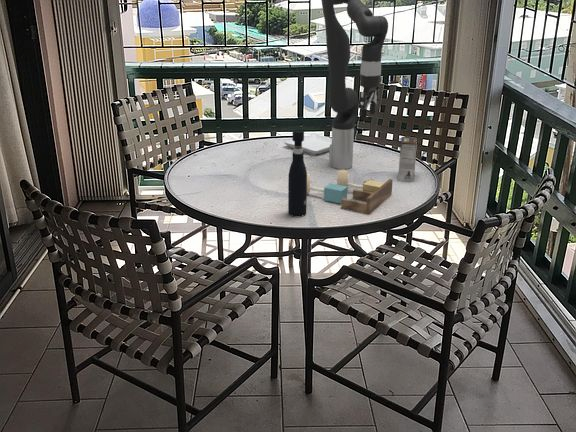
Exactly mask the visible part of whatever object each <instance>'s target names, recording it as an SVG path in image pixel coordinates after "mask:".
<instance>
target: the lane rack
mask: <svg viewBox="0 0 576 432" xmlns="http://www.w3.org/2000/svg"><path fill="white" fill-rule="evenodd" d="M366 181H367V180H365V181H363V184H364V183H365V182H366ZM383 183H384V184H383V185H382V186H381V187H380V188H378V189H377V190H376V191H375V192H374V193H372V192H366V191H363V190H362V189H361V190H360V189H357V188H355V189H353V190H352V199H353V200H352V199H349V198H347V199H344V198H342V199H341V204H340V209H342V208H344V209H343V210H347V209H348V210H347V211H351V210H352V212H356V213H357V212H358V213H361V212H362V214H367V215H371V214H372V213H373V212H374V211H375V210H376V209H377V208H378V207H379V206H380V205H382V204H383V203H384V202H385V201H386V200H387V199H388V198H390V196H392V193H393V179H392V178H389V179H388V180H387V181H385V182H383Z"/></svg>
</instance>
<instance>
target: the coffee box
mask: <svg viewBox="0 0 576 432" xmlns="http://www.w3.org/2000/svg"><path fill="white" fill-rule="evenodd" d="M417 146H418V137H415V136H414V137H413V136H401V141H400V148H399V162H398V173H397V174H398V175H397V181H398V182H399V181H400V182H414V181H415V180H414V179H415V178H414V177H415V171H416V158H417V149H418V148H417Z"/></svg>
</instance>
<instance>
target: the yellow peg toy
mask: <svg viewBox="0 0 576 432" xmlns="http://www.w3.org/2000/svg"><path fill="white" fill-rule="evenodd" d="M336 179H337V180H336V183H337V184H336V185H341V186H346V187H347V188H349V187H351V188H355V189H361V190H362V191H366V192H372V193H374V192H375V191H376V190H377V189H378V188H380V187H381V186H382V185H383V184H384V183H385V182H380V181H375V180H370V179H368V180H365V181H366V182H365V183H364V182H363V184H362V185H361V184H355V183H350V182H349V180H348V179H349V169H338V170H337V178H336Z"/></svg>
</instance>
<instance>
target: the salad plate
mask: <svg viewBox="0 0 576 432" xmlns="http://www.w3.org/2000/svg"><path fill="white" fill-rule="evenodd" d="M294 142H295V141H293V138H292V139H290V140H289V139H288V140H285V141H284V142H283V143H284V144H285V145H286V146H288V147H290V148H292V149H294V147H295V146H294ZM330 144H332V137H328V136H324V135H321V134H316V133H313V134H308V135H304V141H302V148H303V150H302V151H303V153H308V154H311V155H320V154H323V153H328V152H329V150H330Z"/></svg>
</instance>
